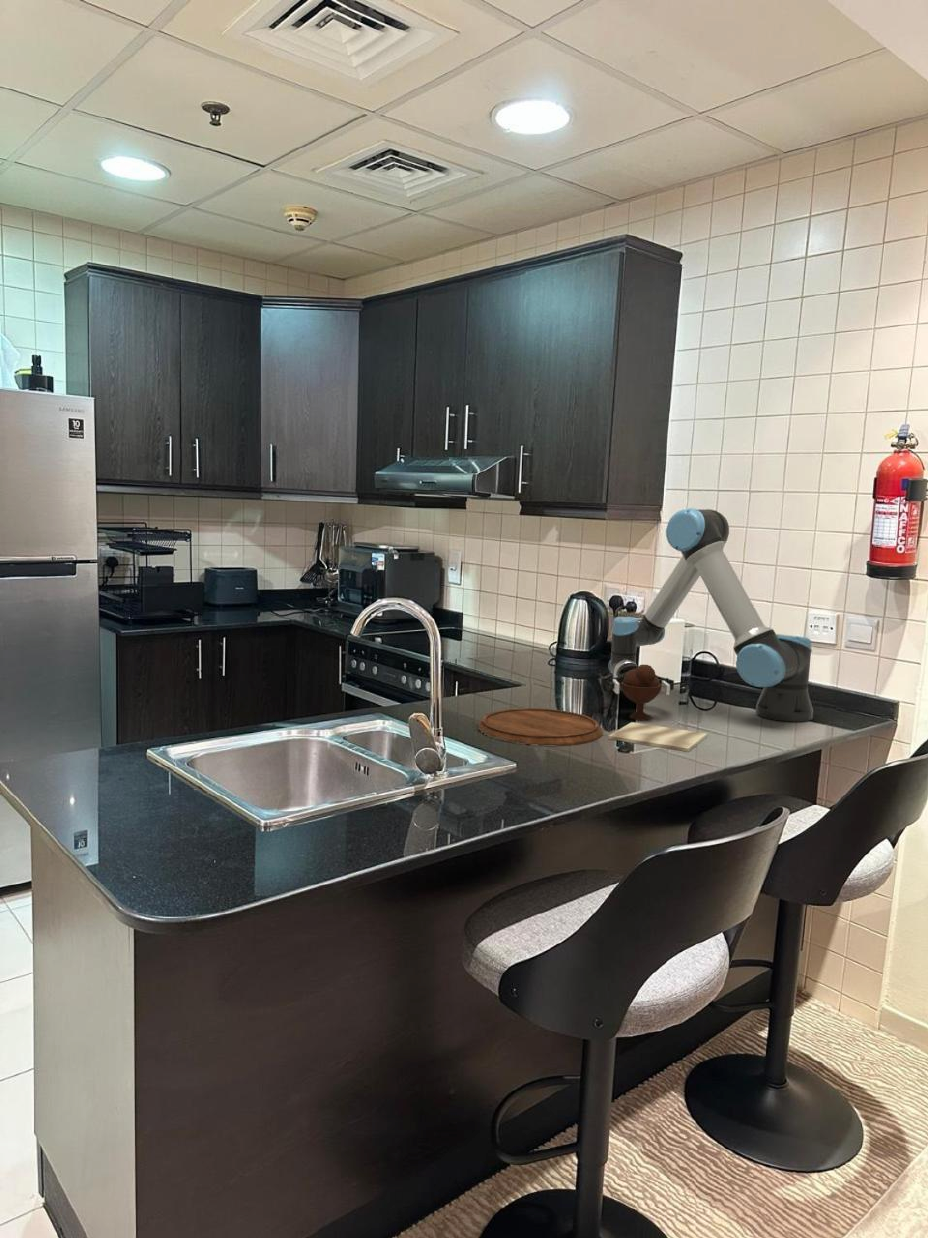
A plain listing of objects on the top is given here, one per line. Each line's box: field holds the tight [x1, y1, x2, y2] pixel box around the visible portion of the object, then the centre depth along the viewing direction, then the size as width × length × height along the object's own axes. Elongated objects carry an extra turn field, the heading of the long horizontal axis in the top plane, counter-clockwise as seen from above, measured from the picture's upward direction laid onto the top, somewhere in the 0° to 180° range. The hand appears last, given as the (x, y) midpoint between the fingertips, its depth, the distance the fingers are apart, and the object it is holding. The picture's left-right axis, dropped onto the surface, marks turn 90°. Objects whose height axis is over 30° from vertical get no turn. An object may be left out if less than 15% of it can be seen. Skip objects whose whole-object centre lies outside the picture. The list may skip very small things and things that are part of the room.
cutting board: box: [477, 707, 604, 747], centre depth 223 cm, size 32×32×2 cm
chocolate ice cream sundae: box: [620, 664, 662, 721], centre depth 237 cm, size 11×11×15 cm
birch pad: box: [607, 721, 708, 752], centre depth 217 cm, size 20×17×1 cm
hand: (643, 689), depth 234 cm, fingers open, 13 cm apart
